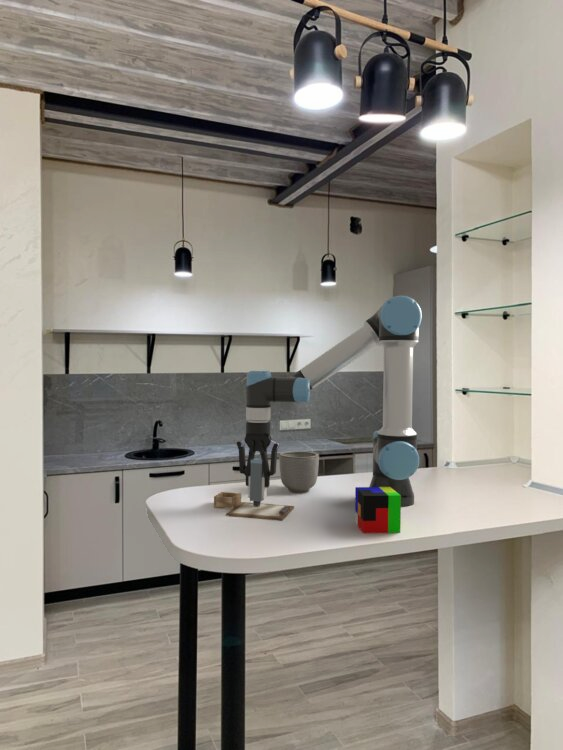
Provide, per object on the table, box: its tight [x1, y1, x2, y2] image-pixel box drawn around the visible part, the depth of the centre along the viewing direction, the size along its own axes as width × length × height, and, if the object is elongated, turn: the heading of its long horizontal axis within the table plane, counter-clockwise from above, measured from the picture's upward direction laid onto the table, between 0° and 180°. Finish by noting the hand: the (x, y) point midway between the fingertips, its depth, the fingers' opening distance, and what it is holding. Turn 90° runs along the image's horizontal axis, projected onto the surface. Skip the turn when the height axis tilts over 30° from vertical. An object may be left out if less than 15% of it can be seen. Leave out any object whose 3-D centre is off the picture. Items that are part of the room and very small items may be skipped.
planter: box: [278, 450, 320, 494], centre depth 192 cm, size 14×14×13 cm
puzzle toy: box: [354, 486, 402, 534], centre depth 150 cm, size 10×10×10 cm
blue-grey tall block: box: [249, 457, 265, 506], centre depth 168 cm, size 4×4×14 cm
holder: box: [213, 491, 242, 510], centre depth 171 cm, size 7×7×3 cm
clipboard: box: [225, 501, 295, 521], centre depth 165 cm, size 17×14×1 cm
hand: (257, 496), depth 169 cm, fingers closed on blue-grey tall block, 3 cm apart
